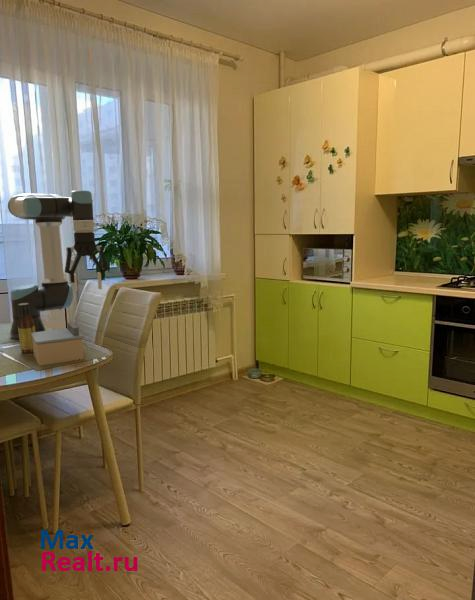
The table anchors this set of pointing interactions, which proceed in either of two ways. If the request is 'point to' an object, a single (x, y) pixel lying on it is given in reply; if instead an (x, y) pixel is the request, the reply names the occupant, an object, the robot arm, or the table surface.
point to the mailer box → (58, 351)
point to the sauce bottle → (25, 328)
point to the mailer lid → (57, 334)
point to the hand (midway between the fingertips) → (88, 289)
